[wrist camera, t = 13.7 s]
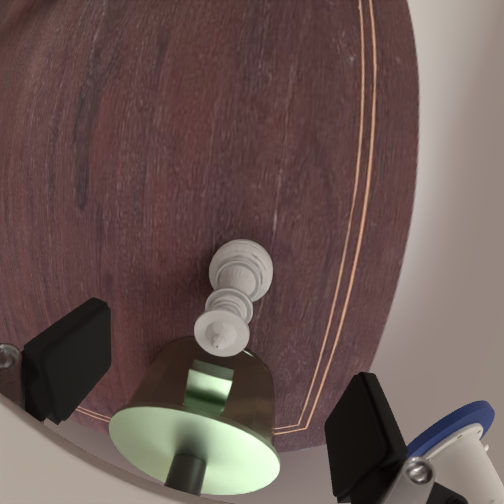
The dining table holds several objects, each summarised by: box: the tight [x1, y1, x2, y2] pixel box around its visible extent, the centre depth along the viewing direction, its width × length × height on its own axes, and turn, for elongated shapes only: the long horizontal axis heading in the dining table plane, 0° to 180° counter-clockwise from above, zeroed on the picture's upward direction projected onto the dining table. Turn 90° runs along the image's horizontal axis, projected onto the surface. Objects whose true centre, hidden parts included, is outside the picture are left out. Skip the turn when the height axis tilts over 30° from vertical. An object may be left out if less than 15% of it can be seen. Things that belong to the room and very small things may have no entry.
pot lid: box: [109, 402, 280, 496], centre depth 13 cm, size 12×12×5 cm
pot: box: [127, 336, 275, 447], centre depth 19 cm, size 11×17×8 cm
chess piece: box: [194, 239, 273, 357], centre depth 15 cm, size 4×4×10 cm
